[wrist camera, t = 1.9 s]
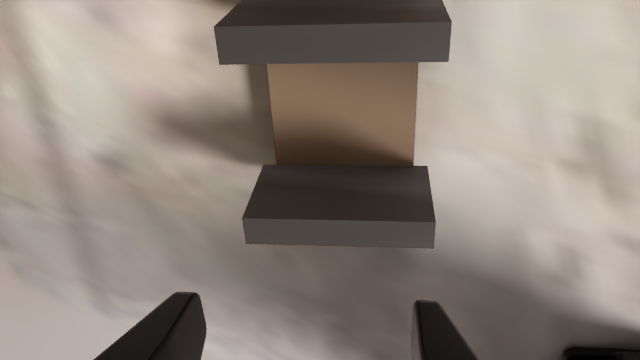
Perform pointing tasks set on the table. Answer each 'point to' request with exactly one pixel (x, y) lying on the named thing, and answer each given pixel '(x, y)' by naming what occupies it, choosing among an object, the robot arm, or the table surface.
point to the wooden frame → (340, 118)
